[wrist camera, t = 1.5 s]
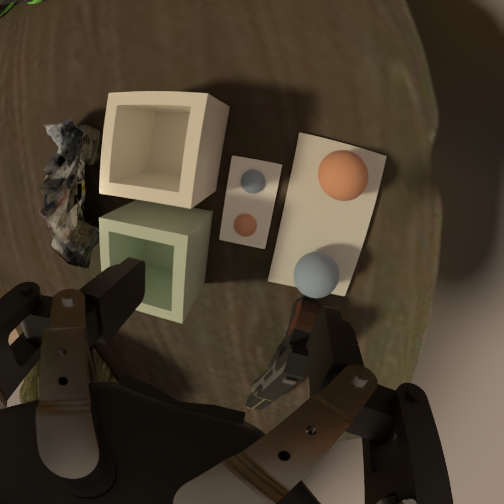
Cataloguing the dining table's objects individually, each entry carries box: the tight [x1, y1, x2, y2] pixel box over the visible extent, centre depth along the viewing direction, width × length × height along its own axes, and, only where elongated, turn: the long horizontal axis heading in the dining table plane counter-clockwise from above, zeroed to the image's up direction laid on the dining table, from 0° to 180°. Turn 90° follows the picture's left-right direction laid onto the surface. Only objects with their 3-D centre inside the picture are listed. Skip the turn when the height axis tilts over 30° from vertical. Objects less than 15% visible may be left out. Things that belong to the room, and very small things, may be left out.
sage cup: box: [99, 200, 213, 323], centre depth 27 cm, size 9×9×8 cm
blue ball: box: [293, 252, 339, 298], centre depth 27 cm, size 5×5×5 cm
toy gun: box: [245, 297, 319, 411], centre depth 33 cm, size 2×18×11 cm, turn 162°
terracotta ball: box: [318, 150, 368, 201], centre depth 23 cm, size 5×5×5 cm
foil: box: [39, 119, 101, 268], centre depth 26 cm, size 12×11×15 cm
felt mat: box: [268, 132, 387, 296], centre depth 27 cm, size 16×9×1 cm, turn 170°
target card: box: [219, 155, 282, 249], centre depth 28 cm, size 9×5×1 cm, turn 170°
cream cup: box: [99, 91, 230, 209], centre depth 23 cm, size 9×9×8 cm
